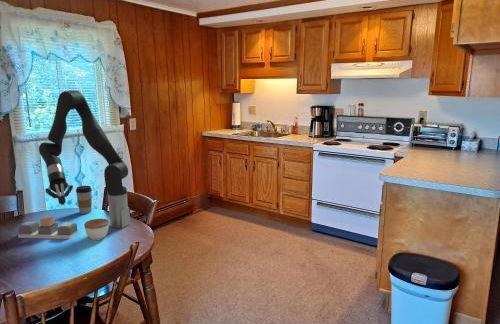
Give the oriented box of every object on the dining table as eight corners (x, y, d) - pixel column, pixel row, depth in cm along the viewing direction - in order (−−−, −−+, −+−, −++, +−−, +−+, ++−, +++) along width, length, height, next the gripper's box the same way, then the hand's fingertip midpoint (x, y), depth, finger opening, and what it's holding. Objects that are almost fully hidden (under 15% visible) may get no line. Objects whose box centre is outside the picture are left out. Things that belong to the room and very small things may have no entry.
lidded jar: (100, 243, 164) (99, 224, 162) (80, 241, 166) (78, 222, 164) (114, 234, 174) (112, 216, 172) (94, 232, 176) (93, 214, 175)
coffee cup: (89, 214, 201) (87, 189, 198) (74, 214, 201) (72, 189, 198) (96, 209, 209) (94, 185, 206) (82, 209, 210) (79, 185, 207)
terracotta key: (54, 223, 174) (54, 216, 173) (49, 226, 169) (48, 219, 169) (46, 223, 174) (45, 216, 173) (40, 226, 169) (39, 219, 169)
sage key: (74, 229, 174) (73, 222, 173) (69, 232, 170) (68, 226, 169) (65, 229, 174) (64, 222, 173) (60, 232, 170) (59, 225, 169)
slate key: (36, 228, 175) (36, 221, 174) (31, 231, 170) (30, 225, 170) (28, 228, 175) (27, 221, 174) (22, 231, 170) (21, 224, 170)
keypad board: (78, 232, 176) (77, 222, 175) (69, 238, 168) (69, 229, 167) (29, 231, 177) (27, 221, 176) (18, 237, 169) (16, 227, 168)
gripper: (41, 172, 175) (47, 202, 168) (70, 169, 183) (78, 197, 175) (41, 180, 180) (47, 210, 173) (69, 177, 188) (76, 205, 180)
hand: (62, 203), depth 174 cm, fingers closed
